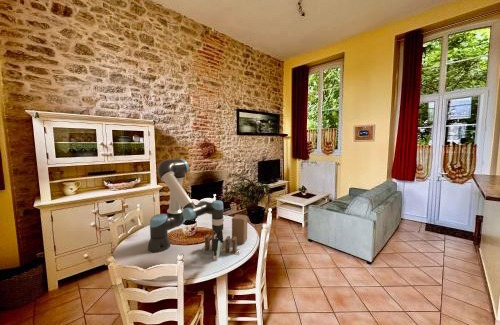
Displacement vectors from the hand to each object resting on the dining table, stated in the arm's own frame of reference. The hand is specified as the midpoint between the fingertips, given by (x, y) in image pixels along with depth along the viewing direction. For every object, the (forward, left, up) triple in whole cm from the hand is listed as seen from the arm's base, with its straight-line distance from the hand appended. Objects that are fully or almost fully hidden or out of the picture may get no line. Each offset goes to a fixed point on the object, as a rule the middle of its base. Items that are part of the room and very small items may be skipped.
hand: (218, 255), depth 144 cm
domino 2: (-5, +7, 0) cm, 9 cm away
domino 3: (+5, +7, 0) cm, 9 cm away
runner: (0, +7, 0) cm, 7 cm away
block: (+10, +24, -1) cm, 26 cm away
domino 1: (-10, +7, 0) cm, 12 cm away
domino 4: (+10, +7, 0) cm, 12 cm away
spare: (0, -1, -1) cm, 1 cm away
